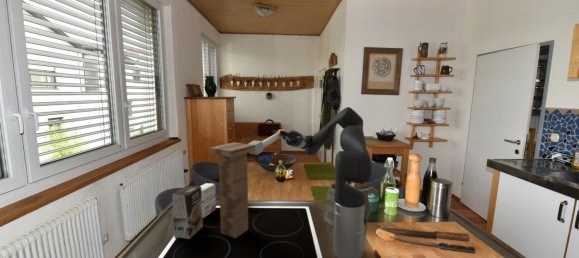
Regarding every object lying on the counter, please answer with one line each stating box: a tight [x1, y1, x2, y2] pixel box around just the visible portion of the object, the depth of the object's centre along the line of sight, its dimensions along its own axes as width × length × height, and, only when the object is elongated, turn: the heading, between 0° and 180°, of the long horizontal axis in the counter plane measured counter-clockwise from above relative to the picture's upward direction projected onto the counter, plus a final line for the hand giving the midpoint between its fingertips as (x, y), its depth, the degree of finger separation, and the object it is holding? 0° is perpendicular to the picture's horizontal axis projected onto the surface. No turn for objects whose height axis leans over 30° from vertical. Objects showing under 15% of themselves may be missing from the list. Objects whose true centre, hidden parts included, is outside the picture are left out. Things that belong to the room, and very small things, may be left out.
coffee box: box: [171, 185, 204, 240], centre depth 97 cm, size 9×6×16 cm
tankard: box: [323, 182, 379, 227], centre depth 105 cm, size 20×13×15 cm, turn 73°
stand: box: [209, 142, 255, 239], centre depth 96 cm, size 10×12×32 cm
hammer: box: [248, 129, 287, 156], centre depth 111 cm, size 22×4×4 cm, turn 148°
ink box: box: [199, 182, 217, 219], centre depth 112 cm, size 8×5×12 cm, turn 160°
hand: (277, 132), depth 116 cm, fingers closed on hammer, 3 cm apart
